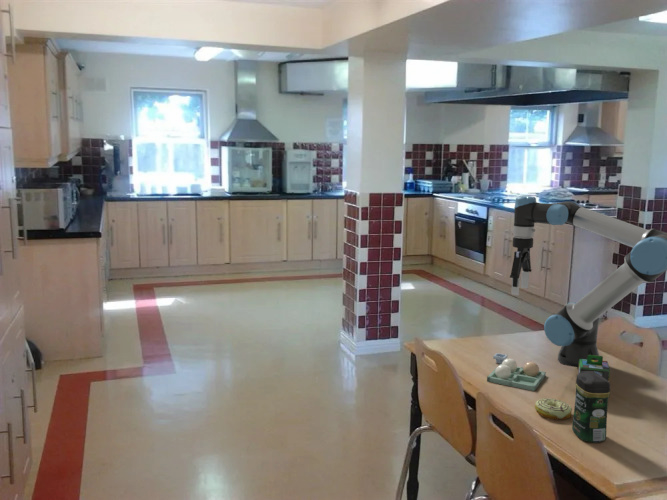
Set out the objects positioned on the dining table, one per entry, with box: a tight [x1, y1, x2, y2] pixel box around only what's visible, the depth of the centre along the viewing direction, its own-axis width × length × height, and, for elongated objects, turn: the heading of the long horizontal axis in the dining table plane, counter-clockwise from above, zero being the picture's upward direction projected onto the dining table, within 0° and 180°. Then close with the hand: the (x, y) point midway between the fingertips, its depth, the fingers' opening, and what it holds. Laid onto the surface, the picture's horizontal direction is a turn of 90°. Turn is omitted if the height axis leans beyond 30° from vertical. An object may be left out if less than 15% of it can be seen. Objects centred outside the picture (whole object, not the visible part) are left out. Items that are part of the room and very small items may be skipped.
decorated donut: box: [534, 397, 573, 421], centre depth 192 cm, size 10×11×4 cm
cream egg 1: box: [501, 357, 518, 373], centre depth 223 cm, size 5×5×5 cm
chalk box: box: [577, 355, 611, 382], centre depth 205 cm, size 9×9×15 cm
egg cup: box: [492, 352, 508, 364], centre depth 235 cm, size 4×4×4 cm
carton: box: [486, 363, 547, 392], centre depth 218 cm, size 16×16×2 cm
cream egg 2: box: [494, 364, 511, 380], centre depth 217 cm, size 5×5×5 cm
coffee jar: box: [571, 371, 611, 444], centre depth 176 cm, size 10×8×19 cm
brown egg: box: [522, 361, 540, 377], centre depth 220 cm, size 5×5×5 cm
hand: (519, 291), depth 239 cm, fingers open, 13 cm apart
